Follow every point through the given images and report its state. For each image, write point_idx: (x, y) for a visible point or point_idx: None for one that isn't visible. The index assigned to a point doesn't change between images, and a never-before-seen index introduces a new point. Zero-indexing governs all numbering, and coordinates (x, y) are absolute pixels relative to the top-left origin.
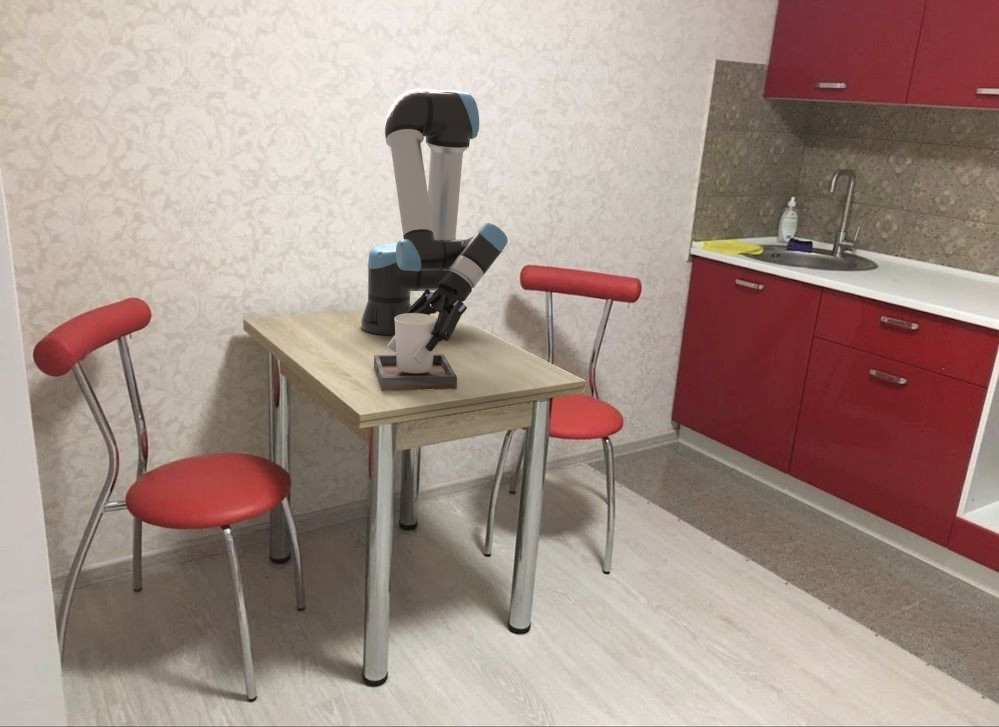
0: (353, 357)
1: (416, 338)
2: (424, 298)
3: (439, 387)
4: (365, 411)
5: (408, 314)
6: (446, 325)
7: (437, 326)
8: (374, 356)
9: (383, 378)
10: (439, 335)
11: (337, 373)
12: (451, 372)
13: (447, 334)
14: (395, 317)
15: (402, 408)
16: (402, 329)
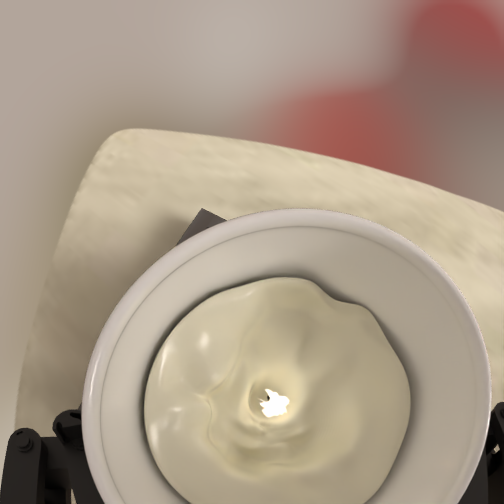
0: (480, 322)
1: (162, 329)
2: None
3: None
4: (120, 134)
5: (477, 431)
6: (8, 500)
7: (93, 499)
8: None
9: (198, 213)
10: (54, 443)
11: (390, 217)
12: None
13: (52, 497)
14: (431, 263)
15: (73, 201)
16: (253, 246)
